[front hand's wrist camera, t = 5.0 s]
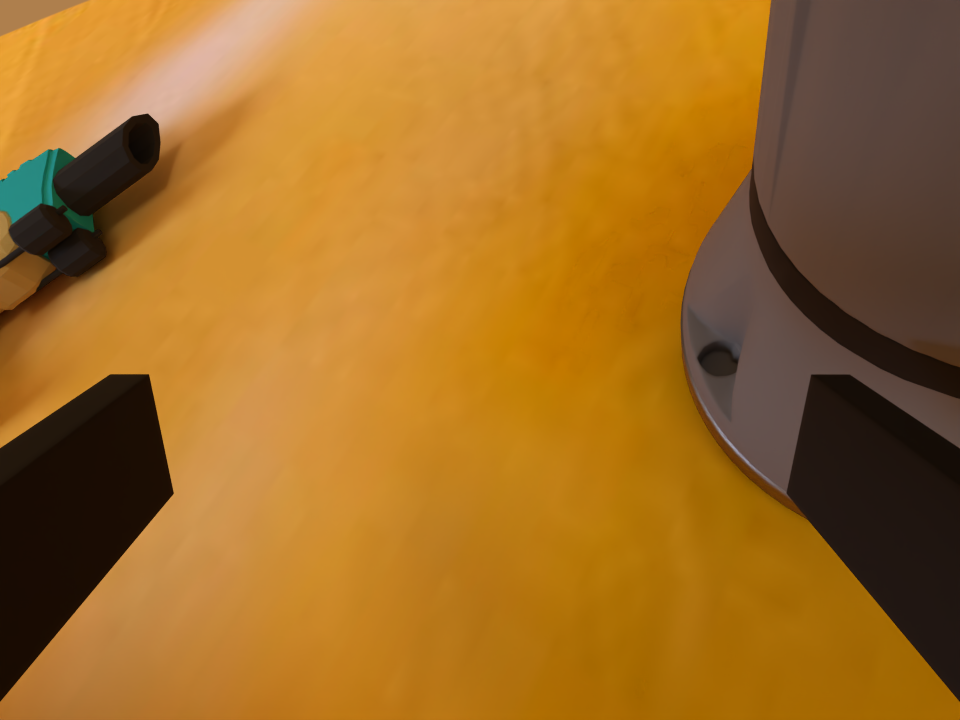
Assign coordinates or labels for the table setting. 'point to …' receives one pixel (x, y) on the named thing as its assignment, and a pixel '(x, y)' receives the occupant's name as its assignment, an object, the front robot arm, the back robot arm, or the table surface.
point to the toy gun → (66, 207)
